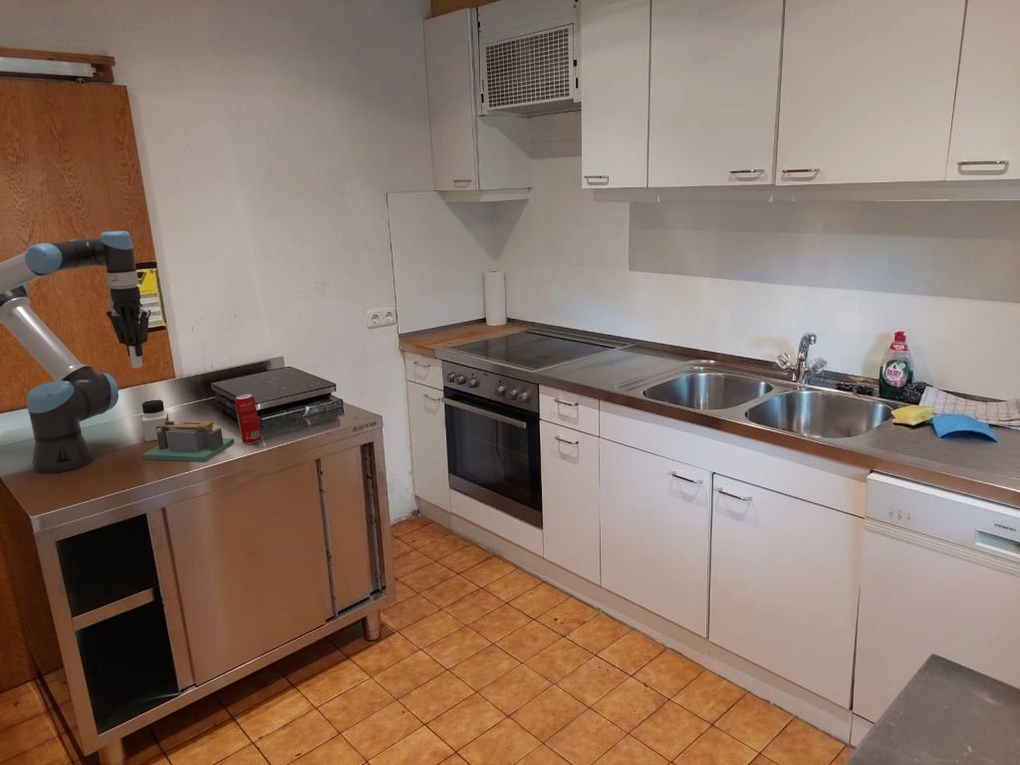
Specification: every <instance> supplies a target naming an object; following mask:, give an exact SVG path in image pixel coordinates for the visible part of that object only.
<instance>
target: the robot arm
mask: <svg viewBox="0 0 1020 765" xmlns="http://www.w3.org/2000/svg"><path fill="white" fill-rule="evenodd" d="M102 266H103V267H105V269H106V274H107V280H108V281H107V282H108V286H109V287H111V288H110V289H109V293H110V298H111V301H112V303H113V304H112V309H111V310H109V311H106V316H107V317H108V318H109V320H110V321H111V324H112V327H113V330H114V333H115V334H116V337H117V341H118V342H119V344H121V345H122V344H123V345H125V346H126V350H127V351H126V352H127V355H128V357H130V363H131V368H132V369H139V368H141V367H143V366H144V365H143V364H144V363H143V359H142V356H143V355H144V353H143V346H142V345H143V344H145V343H148V338H149V337H148V336H149V323H150V322H149V320H150V316H151V313H152V312H151V310H150V309H148V310H146V309H145V308H143V305H142V303H141V298H142V295H141V291H140V290H141V289H140V287H139V278H138V272H137V271H138V270H137V267H136V259H135V250H134V244H133V240H132V235H131V234H130V232H128V231H126V230H119V231H117V230H116V231H114V230H113V231H103V232H101V233H100V239H99V238H75V239H71V240H67V241H57V242H56V241H55V242H47V243H46V242H42V243H38V244H33V245H31V246H28V248H27V249H26V251H25V252H23V253H21V254H19V255H16V256H13V257H11V258H9V259H6V260H4V261H2V262H0V324H2V325H3V326H4V327H5V328H6V329H7V330H8V332H10V333H11V335H12V336H13V337H14V338H15V339H16V340H17V341H18V342H19V344H21V346H22V347H23V348H24V349H25V350H26V351H27V352H28V353H29V355H31V357H32V358H33V359H34V360H36V362H37V363H38V365H40V366H41V367H42V368H43V369H44V371H46V373H47V374H48V375H49V377H51V378H52V379H53V380H54V381H51V382H50V383H49V382H48V383H43V384H41V385H38V386H36V387H34V388H32V389H31V390H29V392H28V393H27V394H26V401H27V406H26V407H27V408H26V409H27V411H28V414H29V419H30V424H31V427H32V433H33V436H34V442H35V444H34V449H33V458H32V462H31V463H32V464H31V465H32V468H33V471H34V472H36V473H42V474H52V473H60V472H61V473H62V472H66V471H67V472H68V471H71V470H74V469H78V468H81V467H83V466H86V465H88V464H89V463H91V462H92V461H93V460H94V455H93V450H92V449H91V448H90V447H89V445H88V443H87V441H86V439H85V438H84V436H83V433H82V429H81V424H80V423H81V422H83V421H85V420H89V419H90V418H93V417H95V416H98V415H101V414H105V413H106V412H108V411H109V410H111V409H113V408H114V407H115V406H116V405H117V403H118V401H119V397H120V396H119V387H118V384H117V382H116V380H115V379H114V378H113V376H111V375H110V374H109V373H104V372H98V373H97V371H96V370H95V369H94V368H93V367H92V365H91V364H90V365H89V364H82V362H81V361H79V359H77V357H76V356H75V355H74V354H73V353H72V351H70V350H69V349H68V348H67V346H66V345H65V344H64V343H63V342H62V341H61V340H60V339H59V338H58V337H57V336H56V334H55V333H54V332H53V331H52V330H51V329H50V328H49V327H48V325H46V324H45V322H43V320H42V319H41V318H40V317H39V316H38V315H37V314H36V312H34V311H33V309H32V308H30V306H31V299H30V291H29V290H27V289H28V285H27V284H29V283H31V282H34V281H36V280H39V279H40V278H43V277H46V276H49V275H51V274H54V273H57V272H60V271H66V270H71V269H72V270H73V269H79V268H86V267H102Z"/></svg>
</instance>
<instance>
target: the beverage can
mask: <svg viewBox="0 0 1020 765" xmlns="http://www.w3.org/2000/svg"><path fill="white" fill-rule="evenodd" d="M234 399H235V400H234V405H235V406H234V407H235V409H236V416H237V421H238V427H239V430H240V438H241V441H242V443H243V444H245V445H246V444H247V445H251V444H256V443H259V442H260V441H261V440H262V433H261V429H260V422H259V417H258V412H257V406H256V400H255V397H254V395H253V394H252V393H241V394H238V395H236V396H235V398H234Z"/></svg>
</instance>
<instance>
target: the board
mask: <svg viewBox="0 0 1020 765" xmlns="http://www.w3.org/2000/svg"><path fill="white" fill-rule="evenodd" d="M201 423H202V422H195V421H194V422H193V421H184V422H183V423H181V424H201ZM166 424H175V421H173V420H171V421H170V420H169V421H166V422H165V425H166ZM156 432H157V438H158V440H157V444H158V445H157V446H155V447H153V448H151V449H150V450H147V452H144V453H142V459H143V460H152V461H154V460H155V461H170V462H171V461H172V460H175V461H174V462H193V461H198V462H199V463H206V462H207V461H209V460H210V459H212V458H213V456H214V457H216V454H217V455H218V454H220V453H221V452H223V451H224V450H226V449H227V448H229V447H231V446H232V445H234V444H235V438H227V437H226V438H225V437H223V433H222V432H223V431H222V427H221V428H220V427H219V428H218V427H217V428H215V429H213V428H211V429H210V430H172V429H171V430H166V429H165V426H156ZM166 432H167V435H166Z"/></svg>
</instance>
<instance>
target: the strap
mask: <svg viewBox="0 0 1020 765" xmlns="http://www.w3.org/2000/svg"><path fill="white" fill-rule="evenodd" d="M200 423H201V424H184V423H183V424H182V423H180V424H175V423H174V424H166V425H164V426H165V429H166V430H171V429H172V430H210V429H211V428H212V429H213V427H214V424H215V423H214V421H203V422H200Z"/></svg>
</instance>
